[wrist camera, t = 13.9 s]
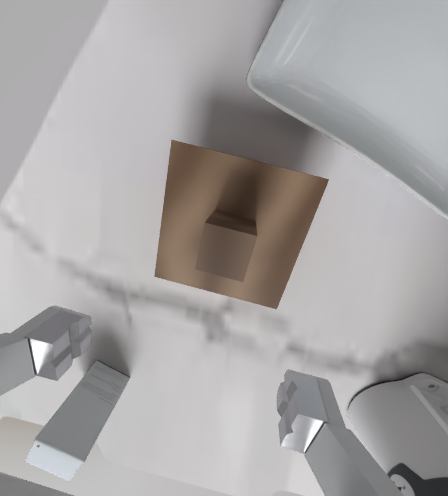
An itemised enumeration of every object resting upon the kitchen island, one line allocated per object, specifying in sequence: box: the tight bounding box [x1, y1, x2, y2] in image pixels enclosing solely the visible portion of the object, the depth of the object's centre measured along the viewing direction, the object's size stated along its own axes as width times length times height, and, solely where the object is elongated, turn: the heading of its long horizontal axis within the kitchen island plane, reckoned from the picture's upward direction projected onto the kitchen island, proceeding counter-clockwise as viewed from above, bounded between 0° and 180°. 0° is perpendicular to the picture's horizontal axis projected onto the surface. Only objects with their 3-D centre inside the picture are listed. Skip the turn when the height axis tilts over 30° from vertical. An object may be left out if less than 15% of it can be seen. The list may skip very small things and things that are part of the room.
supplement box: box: [25, 361, 130, 481], centre depth 36 cm, size 7×7×13 cm
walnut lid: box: [155, 140, 329, 309], centre depth 19 cm, size 14×14×6 cm
